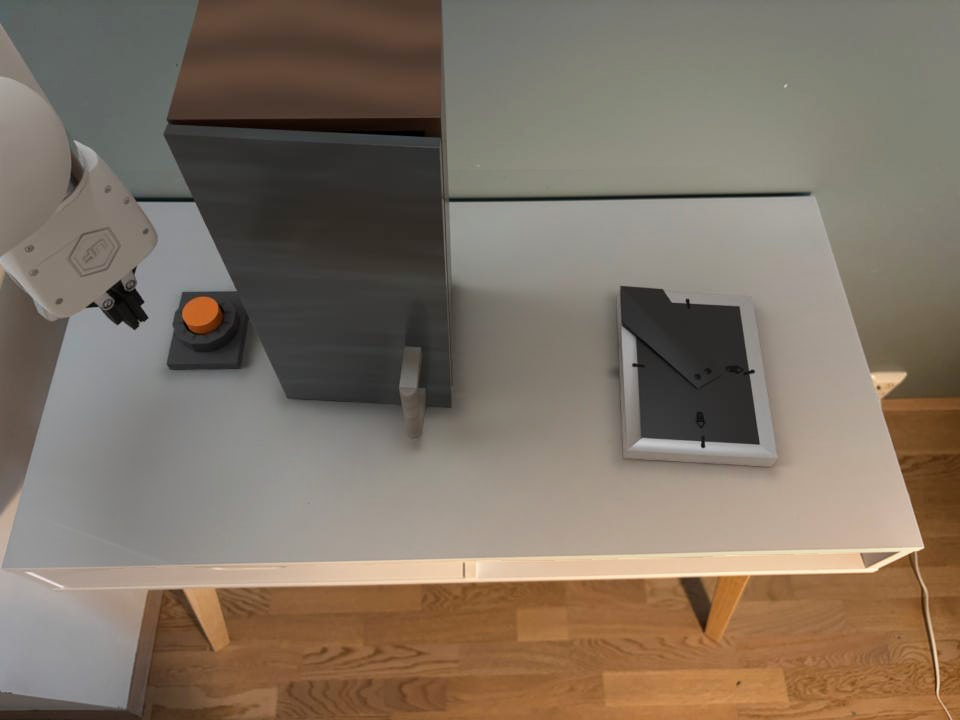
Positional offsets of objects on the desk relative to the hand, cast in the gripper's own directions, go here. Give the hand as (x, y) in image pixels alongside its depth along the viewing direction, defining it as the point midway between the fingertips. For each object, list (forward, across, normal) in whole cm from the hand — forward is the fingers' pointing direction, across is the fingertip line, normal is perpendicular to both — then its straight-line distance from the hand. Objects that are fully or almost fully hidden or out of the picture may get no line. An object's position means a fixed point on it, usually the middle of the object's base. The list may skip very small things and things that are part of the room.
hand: (130, 316), depth 65 cm
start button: (+16, +8, +6) cm, 19 cm away
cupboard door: (+18, +10, -16) cm, 26 cm away
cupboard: (+18, +19, -9) cm, 28 cm away
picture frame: (+19, +36, -42) cm, 58 cm away
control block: (+18, +8, +6) cm, 21 cm away
